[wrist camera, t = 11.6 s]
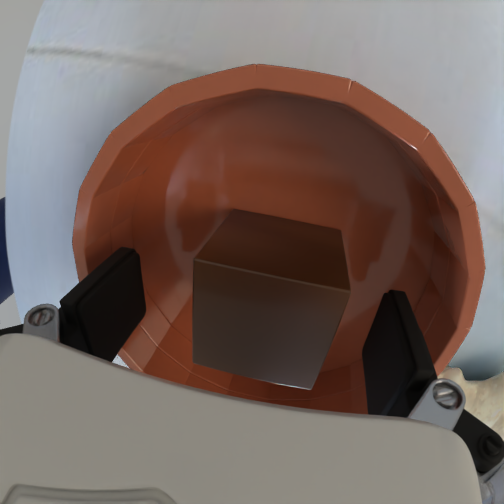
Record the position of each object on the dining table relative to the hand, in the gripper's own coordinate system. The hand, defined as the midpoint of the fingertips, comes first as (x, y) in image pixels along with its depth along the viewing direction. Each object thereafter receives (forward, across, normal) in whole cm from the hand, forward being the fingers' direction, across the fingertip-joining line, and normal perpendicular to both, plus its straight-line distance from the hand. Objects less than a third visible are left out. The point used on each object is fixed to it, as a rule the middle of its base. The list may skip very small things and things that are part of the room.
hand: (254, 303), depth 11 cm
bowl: (+4, 0, 0) cm, 4 cm away
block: (+3, -1, 0) cm, 3 cm away
